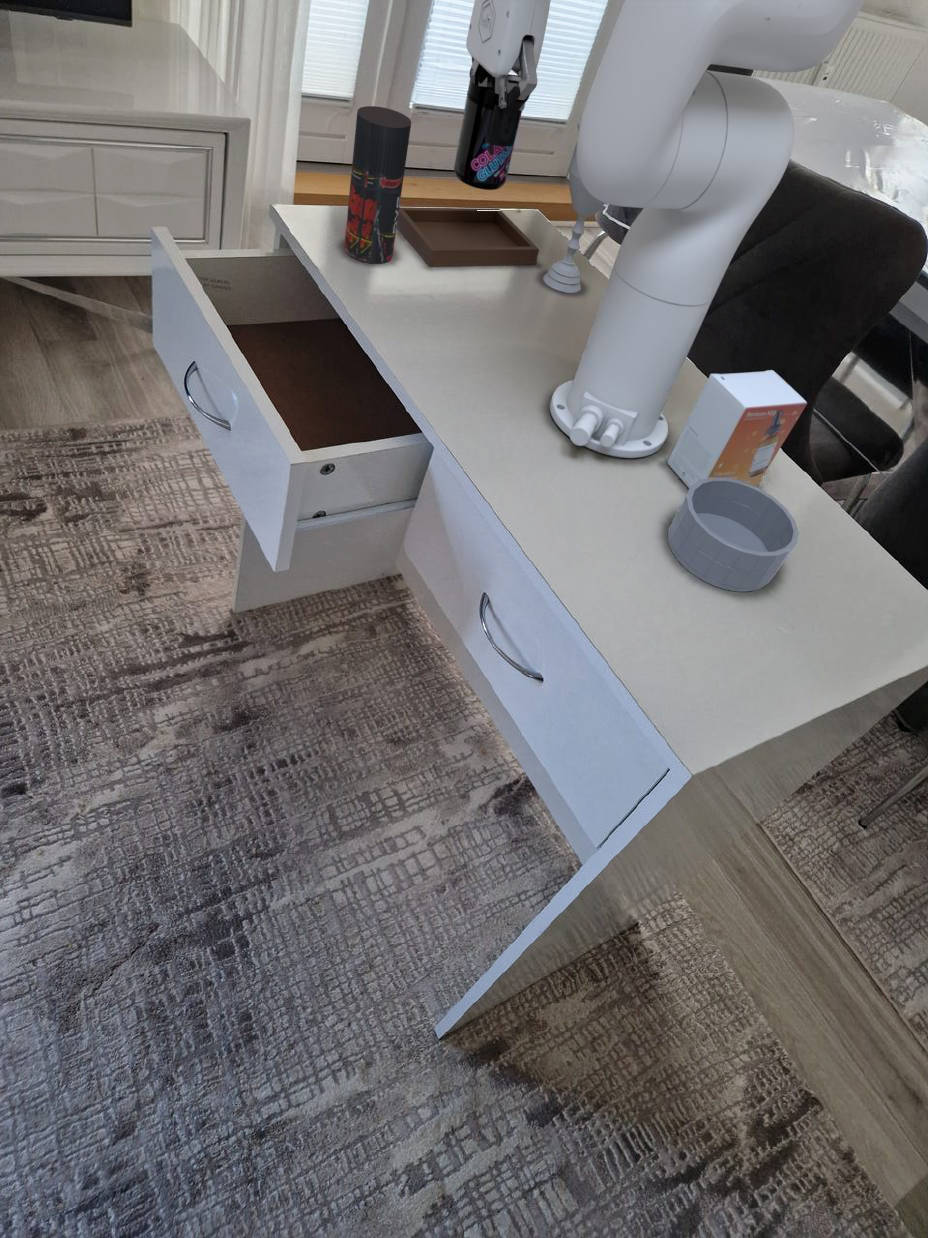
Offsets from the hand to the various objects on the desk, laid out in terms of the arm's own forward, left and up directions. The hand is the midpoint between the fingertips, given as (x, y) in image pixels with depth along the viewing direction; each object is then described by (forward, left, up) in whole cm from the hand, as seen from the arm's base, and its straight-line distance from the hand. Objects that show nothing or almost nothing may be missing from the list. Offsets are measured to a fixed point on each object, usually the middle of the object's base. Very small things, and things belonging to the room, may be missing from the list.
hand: (487, 130), depth 97 cm
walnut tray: (0, 0, -14) cm, 14 cm away
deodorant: (-12, +8, -14) cm, 20 cm away
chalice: (0, -14, -14) cm, 20 cm away
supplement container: (0, 0, -6) cm, 6 cm away
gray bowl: (-40, -43, -14) cm, 60 cm away
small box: (-29, -40, -14) cm, 51 cm away
